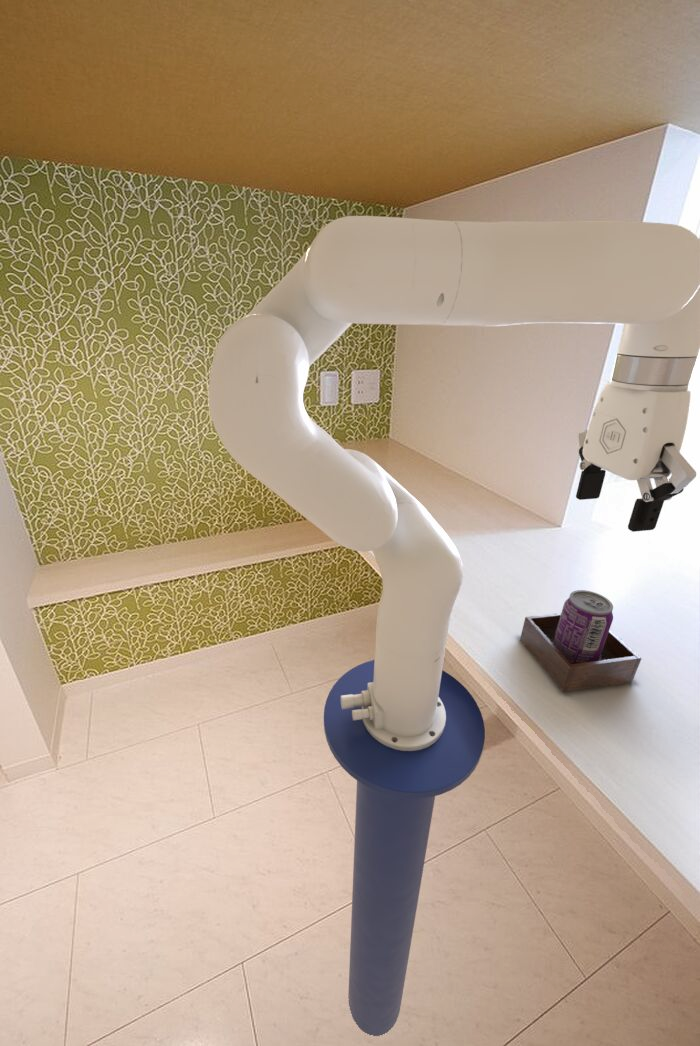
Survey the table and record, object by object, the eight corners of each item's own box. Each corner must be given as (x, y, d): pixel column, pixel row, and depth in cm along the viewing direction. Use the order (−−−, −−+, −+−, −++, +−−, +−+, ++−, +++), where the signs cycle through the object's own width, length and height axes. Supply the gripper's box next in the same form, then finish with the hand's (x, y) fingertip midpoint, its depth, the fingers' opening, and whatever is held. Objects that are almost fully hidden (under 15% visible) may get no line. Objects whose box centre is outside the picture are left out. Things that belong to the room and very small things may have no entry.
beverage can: (602, 659, 74) (622, 601, 68) (587, 681, 69) (608, 621, 64) (559, 639, 78) (575, 583, 73) (543, 659, 73) (559, 600, 68)
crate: (562, 692, 67) (570, 668, 65) (519, 639, 78) (525, 616, 76) (632, 682, 69) (642, 658, 67) (581, 631, 80) (588, 609, 78)
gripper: (572, 365, 55) (546, 490, 63) (688, 385, 40) (636, 547, 47) (624, 363, 56) (593, 487, 64) (757, 382, 41) (696, 542, 48)
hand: (611, 512), depth 56 cm, fingers open, 9 cm apart
